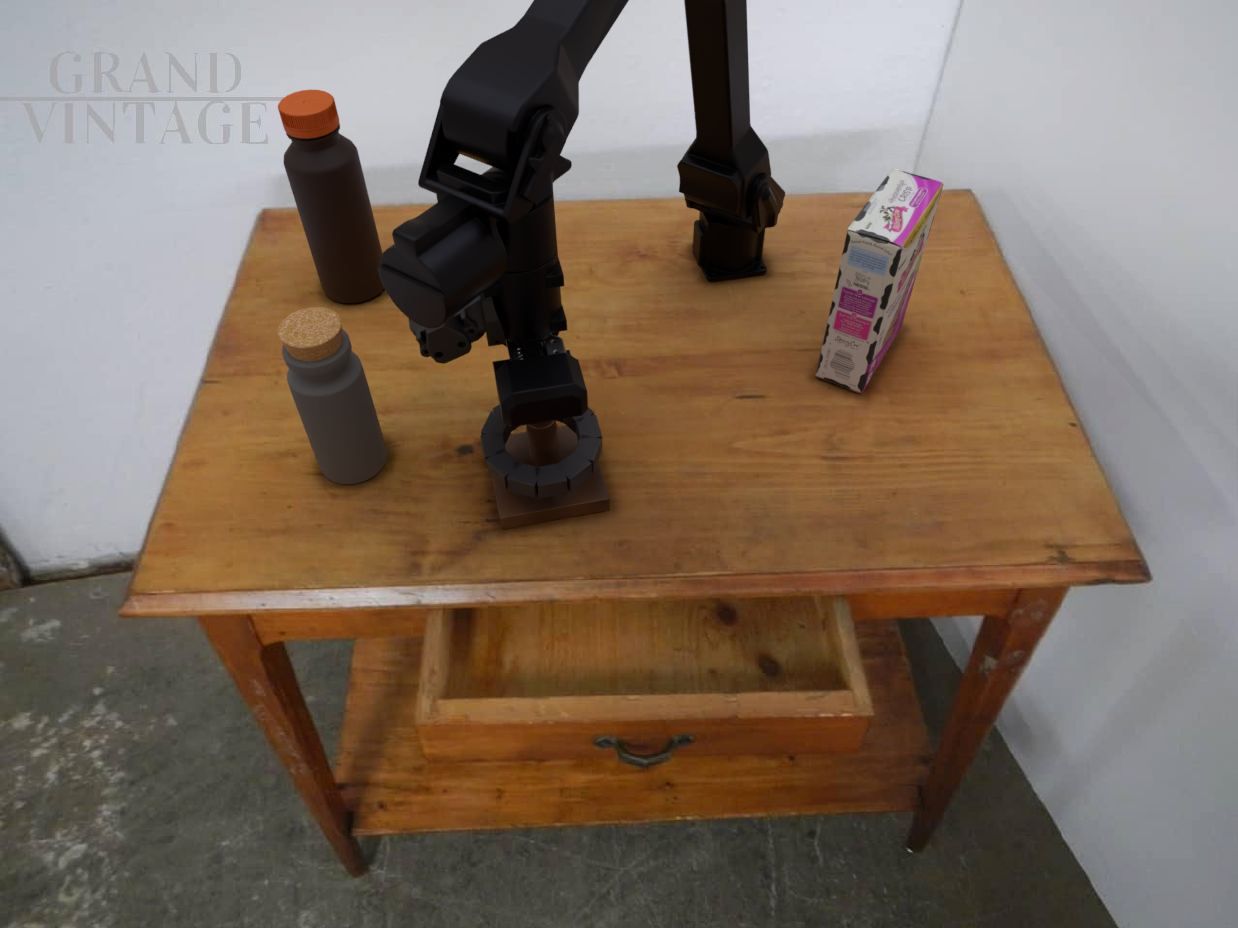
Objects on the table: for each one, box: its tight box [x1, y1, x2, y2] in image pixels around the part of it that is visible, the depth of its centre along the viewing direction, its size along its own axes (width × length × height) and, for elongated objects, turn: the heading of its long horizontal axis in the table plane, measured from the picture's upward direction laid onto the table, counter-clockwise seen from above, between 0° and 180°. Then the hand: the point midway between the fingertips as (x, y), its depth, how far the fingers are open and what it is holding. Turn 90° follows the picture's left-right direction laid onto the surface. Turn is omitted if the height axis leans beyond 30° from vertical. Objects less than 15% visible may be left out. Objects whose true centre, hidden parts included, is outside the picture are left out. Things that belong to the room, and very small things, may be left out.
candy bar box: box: [815, 168, 945, 394], centre depth 84 cm, size 11×5×16 cm, turn 150°
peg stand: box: [492, 420, 611, 530], centre depth 77 cm, size 9×9×8 cm
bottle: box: [277, 306, 388, 485], centre depth 76 cm, size 6×6×15 cm
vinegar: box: [277, 89, 385, 304], centre depth 90 cm, size 7×7×20 cm
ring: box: [479, 403, 603, 498], centre depth 76 cm, size 10×10×2 cm
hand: (534, 404), depth 78 cm, fingers closed on ring, 2 cm apart
